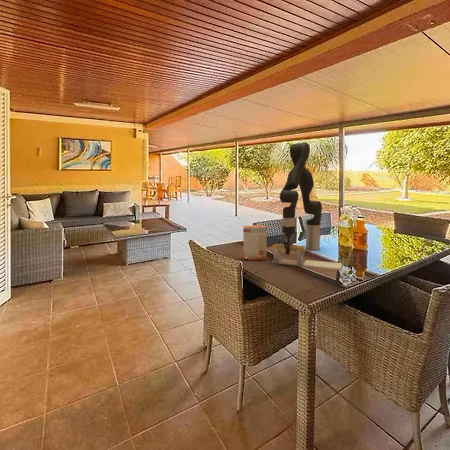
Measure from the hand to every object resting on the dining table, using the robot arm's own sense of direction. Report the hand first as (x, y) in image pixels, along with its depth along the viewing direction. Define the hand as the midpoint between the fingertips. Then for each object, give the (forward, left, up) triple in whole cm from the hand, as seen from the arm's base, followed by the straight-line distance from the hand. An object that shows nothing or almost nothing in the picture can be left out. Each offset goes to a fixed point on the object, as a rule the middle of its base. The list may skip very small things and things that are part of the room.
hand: (288, 253), depth 177 cm
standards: (0, 0, -6) cm, 6 cm away
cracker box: (-1, -21, -6) cm, 22 cm away
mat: (0, +19, -6) cm, 20 cm away
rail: (0, 0, +1) cm, 1 cm away
